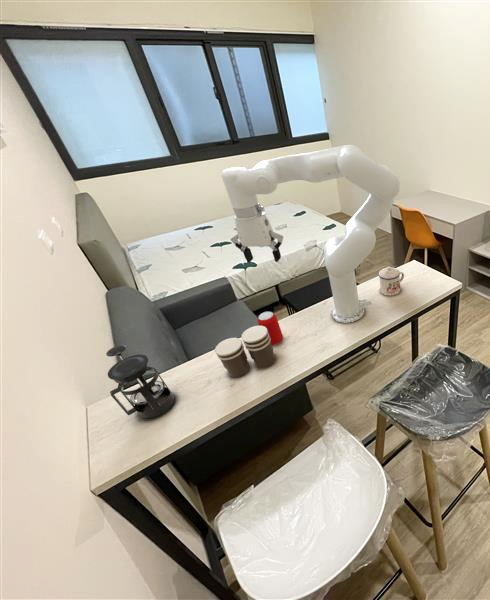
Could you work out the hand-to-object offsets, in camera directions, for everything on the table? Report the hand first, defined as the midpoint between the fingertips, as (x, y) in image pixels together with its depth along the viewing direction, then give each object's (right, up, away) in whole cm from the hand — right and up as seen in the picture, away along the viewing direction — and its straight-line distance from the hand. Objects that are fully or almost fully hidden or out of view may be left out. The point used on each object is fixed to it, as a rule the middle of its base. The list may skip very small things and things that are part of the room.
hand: (264, 260), depth 109 cm
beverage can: (+1, -29, +8) cm, 30 cm away
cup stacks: (-3, -35, -2) cm, 36 cm away
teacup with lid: (+43, -9, +33) cm, 55 cm away
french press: (-26, -45, -14) cm, 54 cm away
